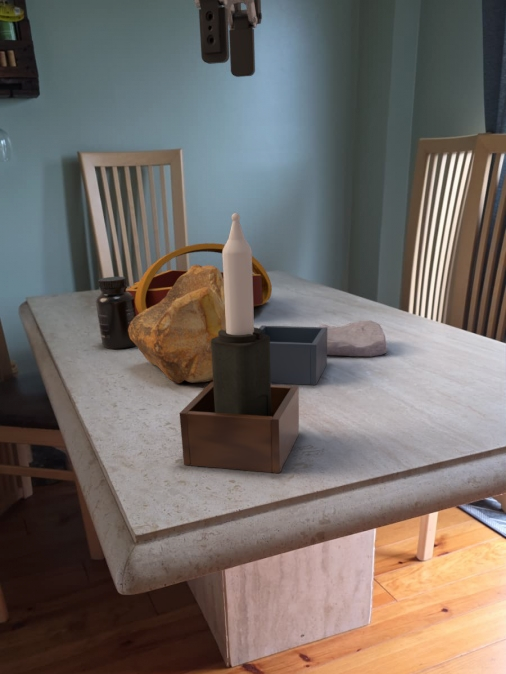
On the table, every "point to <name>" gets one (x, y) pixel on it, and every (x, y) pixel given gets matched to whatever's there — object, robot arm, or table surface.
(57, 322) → the table surface
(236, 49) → the robot arm
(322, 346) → the crate right
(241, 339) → the candle
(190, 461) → the crate left
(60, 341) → the table surface
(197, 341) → the rough brown rock
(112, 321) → the supplement bottle
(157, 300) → the decorative basket
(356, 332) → the stone block
